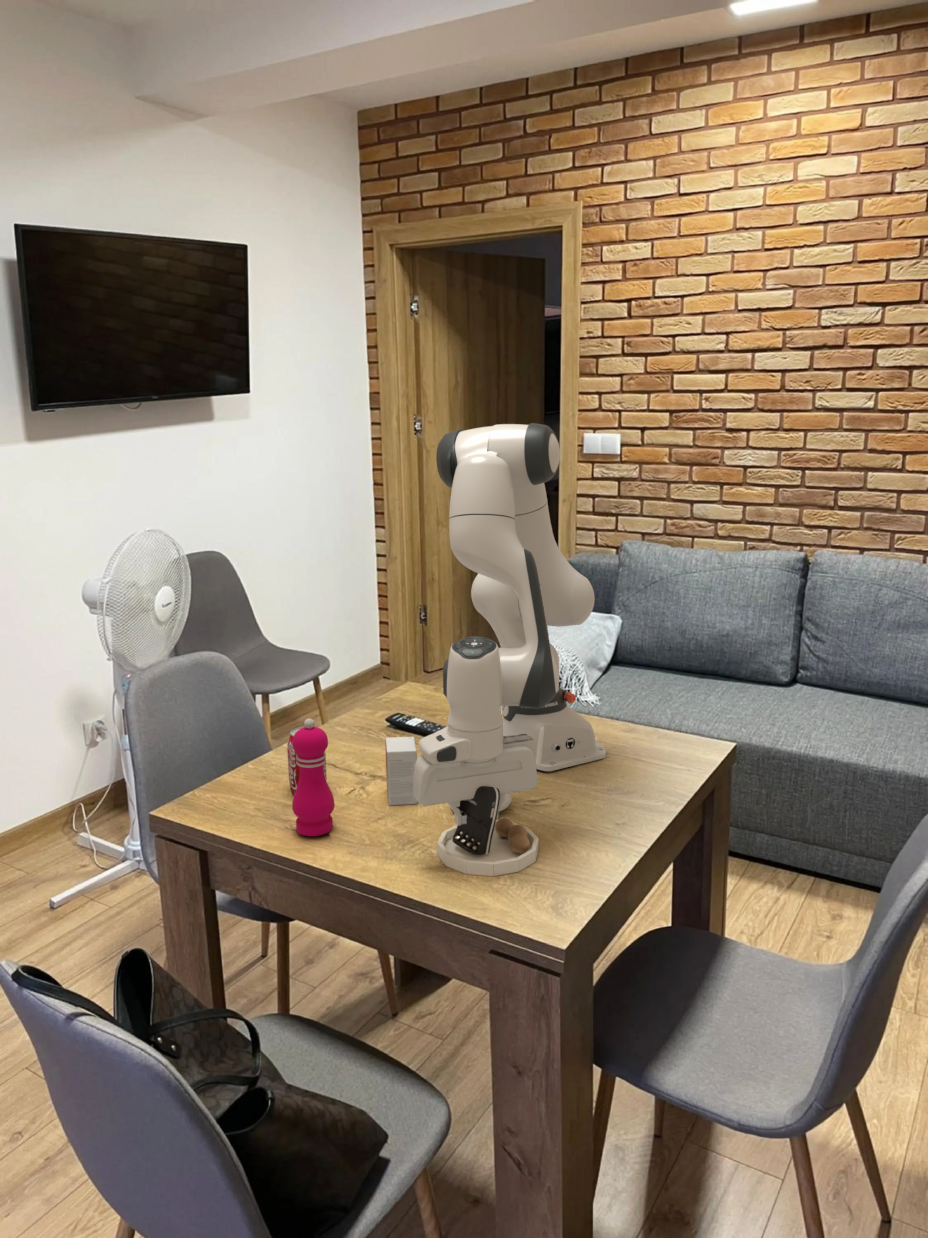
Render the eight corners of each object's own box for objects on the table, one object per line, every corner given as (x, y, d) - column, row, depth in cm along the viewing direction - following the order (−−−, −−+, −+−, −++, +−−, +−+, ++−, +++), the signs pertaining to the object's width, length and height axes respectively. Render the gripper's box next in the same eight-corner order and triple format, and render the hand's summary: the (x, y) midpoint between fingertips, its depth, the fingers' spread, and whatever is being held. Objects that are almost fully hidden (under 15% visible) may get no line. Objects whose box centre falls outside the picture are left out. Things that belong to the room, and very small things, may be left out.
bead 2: (522, 838, 161) (522, 820, 160) (530, 846, 158) (530, 828, 157) (505, 841, 160) (505, 823, 159) (512, 849, 157) (512, 831, 156)
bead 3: (525, 847, 158) (525, 829, 157) (532, 855, 155) (532, 837, 154) (506, 850, 157) (506, 832, 156) (514, 859, 154) (514, 840, 153)
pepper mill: (316, 841, 162) (311, 728, 158) (284, 832, 166) (278, 721, 162) (344, 825, 168) (339, 716, 164) (312, 816, 172) (306, 709, 168)
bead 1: (510, 831, 164) (509, 813, 163) (517, 838, 161) (517, 821, 160) (492, 834, 163) (492, 816, 162) (499, 841, 160) (499, 823, 159)
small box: (386, 789, 184) (384, 737, 182) (415, 787, 184) (414, 735, 182) (387, 806, 176) (385, 751, 174) (418, 804, 177) (416, 750, 174)
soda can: (319, 799, 179) (316, 738, 177) (284, 797, 181) (280, 736, 178) (332, 785, 186) (329, 726, 184) (297, 782, 188) (294, 724, 185)
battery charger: (444, 841, 157) (456, 775, 155) (461, 838, 160) (473, 773, 158) (474, 859, 152) (486, 790, 151) (490, 855, 155) (503, 788, 153)
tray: (515, 825, 167) (515, 814, 167) (553, 865, 153) (553, 853, 152) (427, 839, 162) (426, 828, 162) (457, 882, 148) (457, 870, 147)
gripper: (528, 726, 159) (528, 804, 162) (408, 742, 152) (411, 823, 156) (543, 738, 153) (543, 819, 156) (420, 755, 147) (422, 839, 150)
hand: (476, 821), depth 156 cm, fingers closed on battery charger, 4 cm apart
